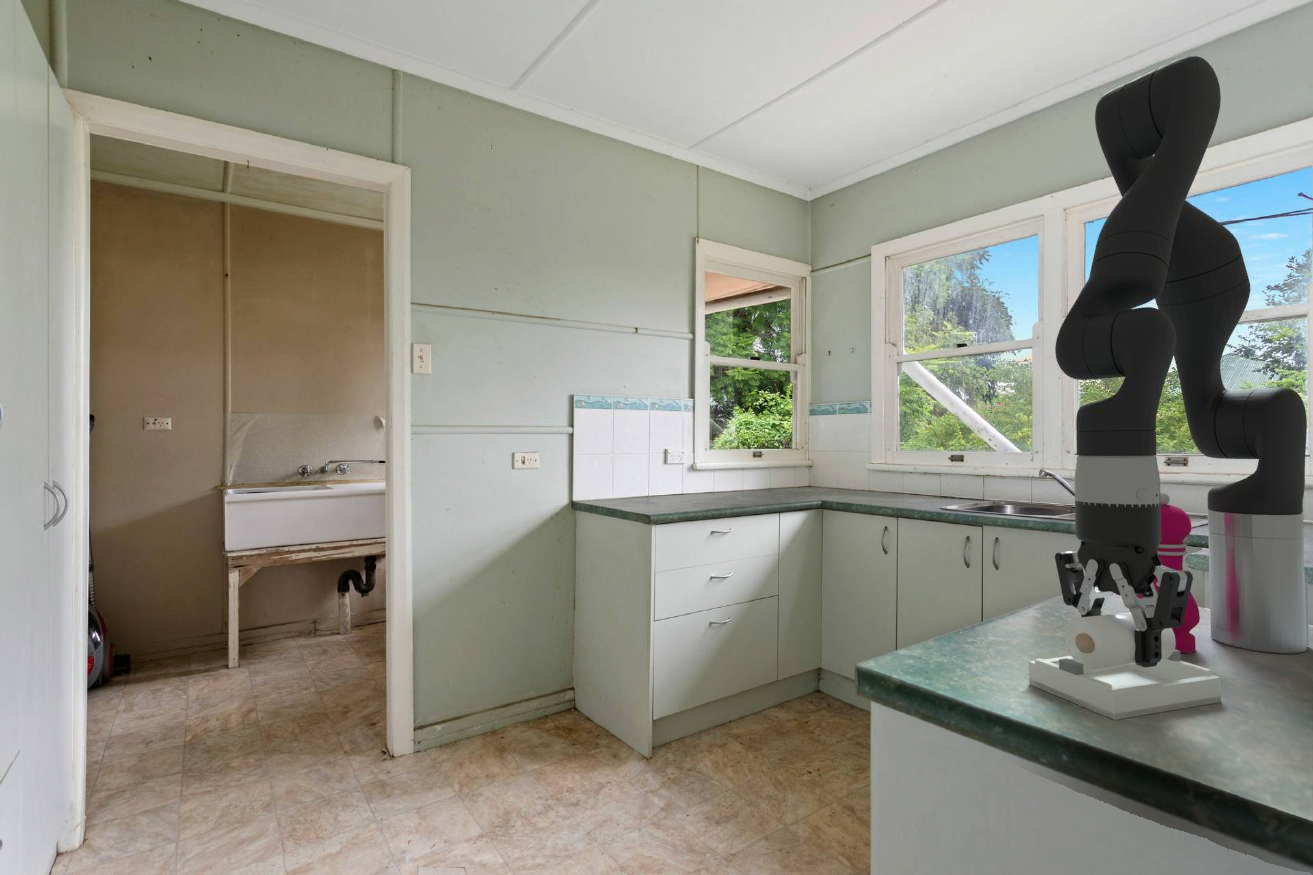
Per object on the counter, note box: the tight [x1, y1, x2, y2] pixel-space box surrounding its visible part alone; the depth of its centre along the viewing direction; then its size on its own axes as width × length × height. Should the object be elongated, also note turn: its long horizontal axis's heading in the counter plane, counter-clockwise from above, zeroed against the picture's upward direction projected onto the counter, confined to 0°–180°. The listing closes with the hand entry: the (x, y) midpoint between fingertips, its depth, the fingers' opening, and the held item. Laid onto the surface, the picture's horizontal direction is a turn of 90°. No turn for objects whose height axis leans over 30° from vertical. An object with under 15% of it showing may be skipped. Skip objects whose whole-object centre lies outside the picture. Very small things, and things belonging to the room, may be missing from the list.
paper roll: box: [1063, 611, 1176, 669], centre depth 70 cm, size 10×5×5 cm, turn 106°
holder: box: [1028, 650, 1222, 721], centre depth 70 cm, size 14×10×4 cm
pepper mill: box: [1129, 491, 1201, 654], centre depth 85 cm, size 7×7×20 cm
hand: (1119, 656), depth 70 cm, fingers closed on paper roll, 5 cm apart
